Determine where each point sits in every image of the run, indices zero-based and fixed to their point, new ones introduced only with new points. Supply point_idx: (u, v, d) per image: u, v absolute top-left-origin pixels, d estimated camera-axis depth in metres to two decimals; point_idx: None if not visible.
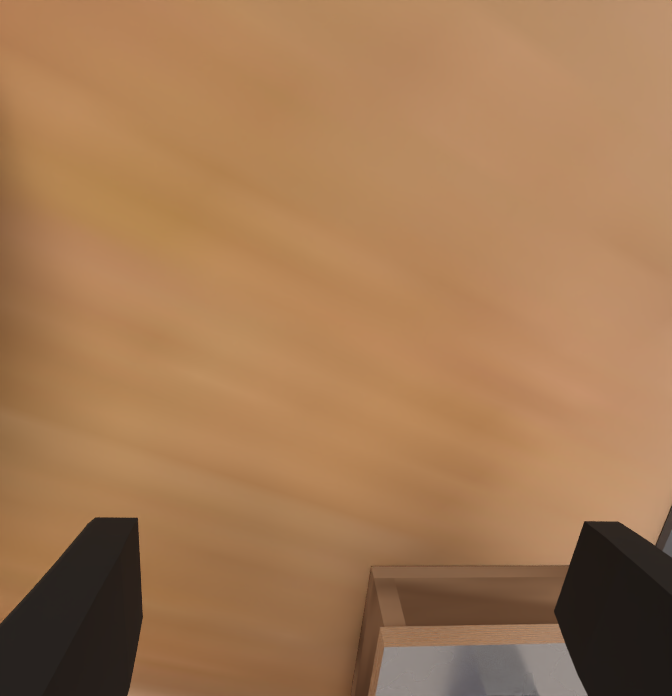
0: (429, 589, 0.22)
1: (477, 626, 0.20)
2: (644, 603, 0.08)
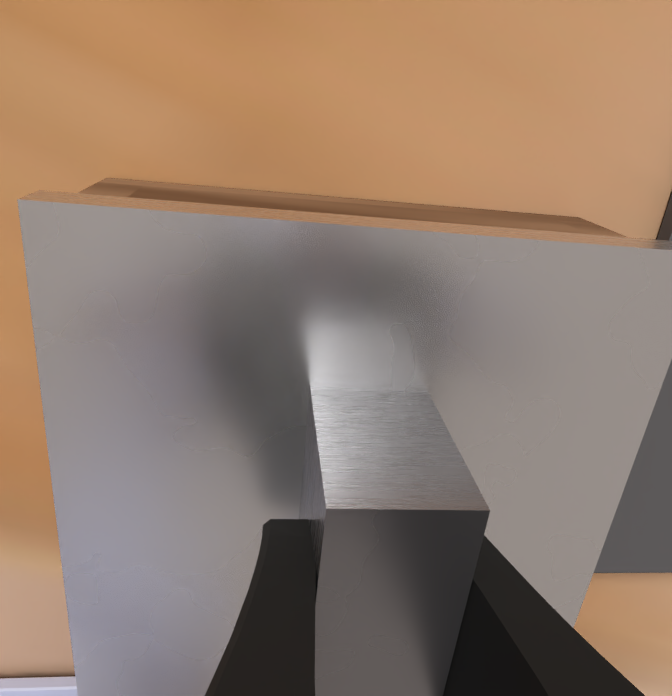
0: (208, 196, 0.10)
1: (278, 210, 0.09)
2: (468, 605, 0.08)
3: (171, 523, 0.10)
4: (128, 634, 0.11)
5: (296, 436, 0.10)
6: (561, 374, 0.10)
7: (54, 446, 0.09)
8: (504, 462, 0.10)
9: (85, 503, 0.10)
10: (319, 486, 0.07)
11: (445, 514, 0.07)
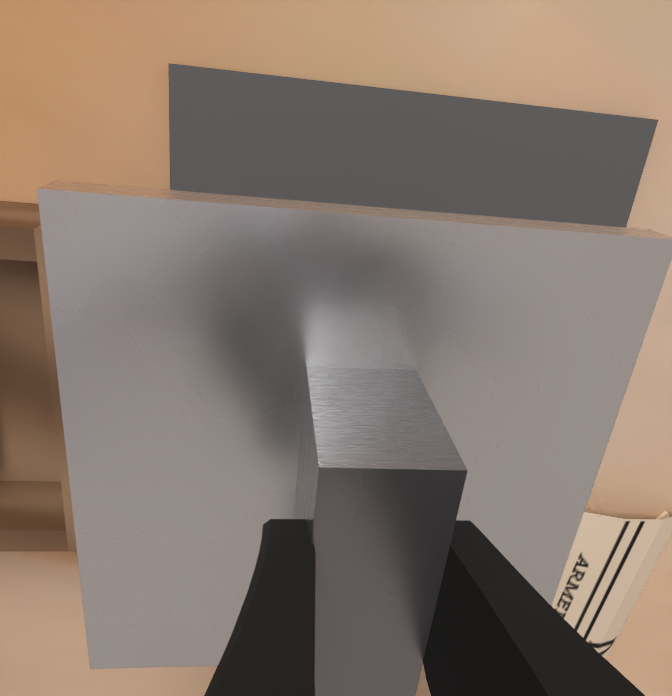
0: None
1: (276, 199, 0.10)
2: (468, 605, 0.08)
3: (177, 492, 0.11)
4: (136, 598, 0.12)
5: (293, 410, 0.10)
6: (540, 353, 0.10)
7: (68, 419, 0.10)
8: (488, 436, 0.11)
9: (97, 473, 0.11)
10: (313, 450, 0.08)
11: (427, 473, 0.08)
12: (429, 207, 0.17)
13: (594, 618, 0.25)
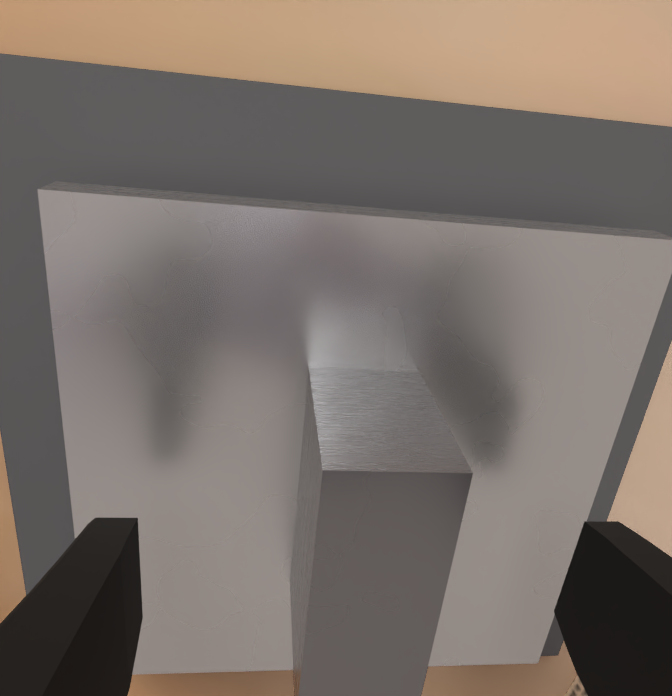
0: None
1: (278, 200, 0.10)
2: (644, 603, 0.08)
3: (178, 496, 0.11)
4: None
5: (295, 413, 0.10)
6: (544, 355, 0.10)
7: (69, 422, 0.10)
8: (492, 439, 0.11)
9: (97, 477, 0.10)
10: (316, 453, 0.08)
11: (432, 476, 0.08)
12: None
13: None
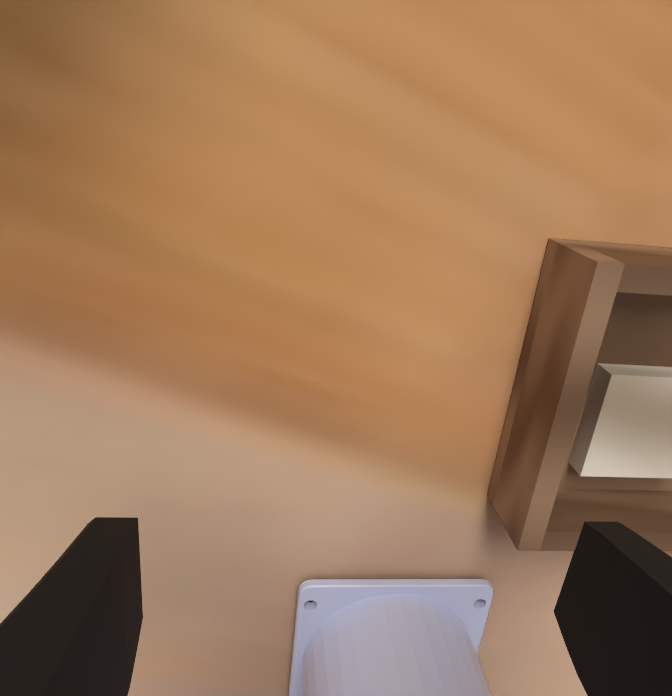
0: (630, 251, 0.17)
1: None
2: (644, 603, 0.08)
3: None
4: None
5: None
6: None
7: None
8: None
9: None
10: None
11: None
12: None
13: None
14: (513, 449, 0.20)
